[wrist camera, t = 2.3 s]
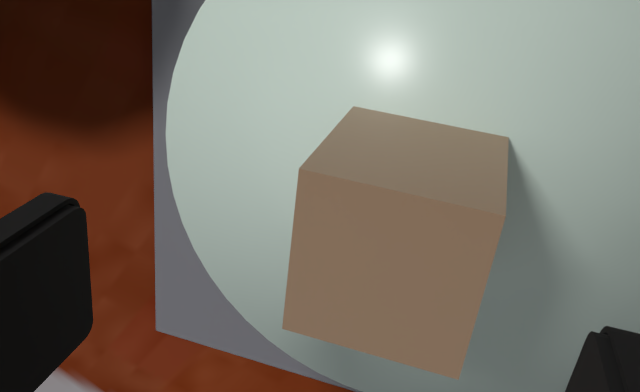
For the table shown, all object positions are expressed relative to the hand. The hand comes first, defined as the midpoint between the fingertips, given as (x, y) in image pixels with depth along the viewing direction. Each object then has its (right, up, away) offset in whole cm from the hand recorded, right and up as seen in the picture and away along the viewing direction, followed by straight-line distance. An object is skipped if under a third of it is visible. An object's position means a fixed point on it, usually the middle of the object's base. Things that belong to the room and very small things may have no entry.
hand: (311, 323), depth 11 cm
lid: (+3, +3, +6) cm, 7 cm away
